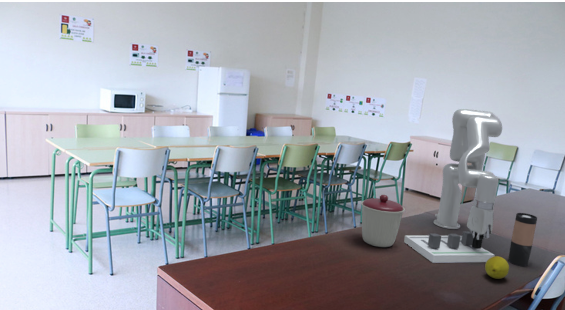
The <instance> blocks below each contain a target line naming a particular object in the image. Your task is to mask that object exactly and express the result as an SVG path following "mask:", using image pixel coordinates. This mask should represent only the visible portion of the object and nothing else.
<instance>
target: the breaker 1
mask: <svg viewBox="0 0 565 310" xmlns="http://www.w3.org/2000/svg"><path fill="white" fill-rule="evenodd" d="M428 236H429V240H428V246H429V247H431V248H440V242H441V236H442V235H440V234H438V233H429V234H428Z"/></svg>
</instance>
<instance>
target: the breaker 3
mask: <svg viewBox="0 0 565 310" xmlns="http://www.w3.org/2000/svg"><path fill="white" fill-rule="evenodd" d="M461 236H462V240H461V243H463V244H464V245H472V243H473V234H472V232H471V231H470V230H469V231H468V230H467V231H466V230H464V231H462V234H461Z"/></svg>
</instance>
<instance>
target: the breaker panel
mask: <svg viewBox="0 0 565 310" xmlns="http://www.w3.org/2000/svg"><path fill="white" fill-rule="evenodd" d="M440 236H441V242H440V248H431V247H429V246H428V240H429V235H404V238H403V239H404V241H403V243H405V244H406V245H407V244H408V247H410V248H411V247H412V248H411V249H413V250H415V251H416V252H417V253H418V254H419V255H421V256H422V257H424V258H425V259H427V260H428V261H430V262H431V263H432V264H436V263H437V264H439V263H440V264H442V263H449V264H450V263H454V264H456V263H486V262H487V260H488V259H490V258H491V257H494V256H495V255H496V254H494V253H492V252H490V251H489V250H487V249H485V248H483V247H482V246H481V249H474V248H473V247H472V245H464V244H463V243H461V240H462V235H460V236H461V237H460V243H459V248H450V247H449V246H447V241H448V235H440Z"/></svg>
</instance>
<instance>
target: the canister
mask: <svg viewBox="0 0 565 310" xmlns="http://www.w3.org/2000/svg"><path fill="white" fill-rule="evenodd" d="M360 205H361V207H362V209H361V235H362V240H363V241H364V242H365V243H366V244H368V245H370V246H373V247H377V248H389V247H392V246H393V245H394V243H396V242H395V241H396V240H397V236H398V232H399V229H400V225H401V220H402V218H403V213H405V212H406V211H405V210H406V209H405V206H402V204H400V203H399V202H397V201H394V200H390V199H389V196H388V195H386V194H381V195H379V198H377V197H376V198H373V197H372V198H367V199H364V200H362V201H360Z"/></svg>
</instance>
